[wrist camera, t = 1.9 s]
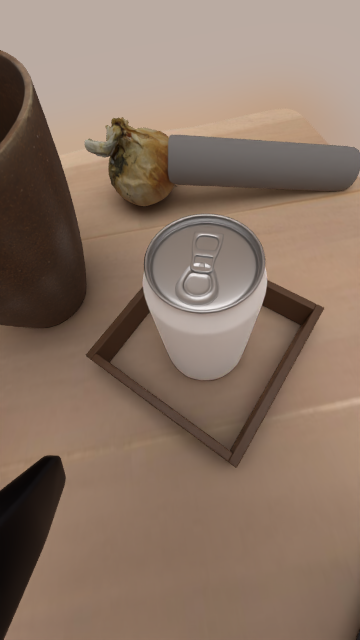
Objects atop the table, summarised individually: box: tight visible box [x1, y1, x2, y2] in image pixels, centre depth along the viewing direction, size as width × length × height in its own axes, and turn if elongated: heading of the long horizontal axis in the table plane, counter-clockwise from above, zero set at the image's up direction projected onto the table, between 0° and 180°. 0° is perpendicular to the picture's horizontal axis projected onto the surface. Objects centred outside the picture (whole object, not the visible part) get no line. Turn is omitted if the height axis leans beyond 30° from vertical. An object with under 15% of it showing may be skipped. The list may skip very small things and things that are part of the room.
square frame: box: [86, 280, 324, 468], centre depth 22 cm, size 13×13×3 cm
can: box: [143, 214, 267, 380], centre depth 18 cm, size 6×6×12 cm
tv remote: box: [168, 135, 360, 191], centre depth 27 cm, size 4×20×2 cm
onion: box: [85, 118, 176, 206], centre depth 28 cm, size 8×8×8 cm
